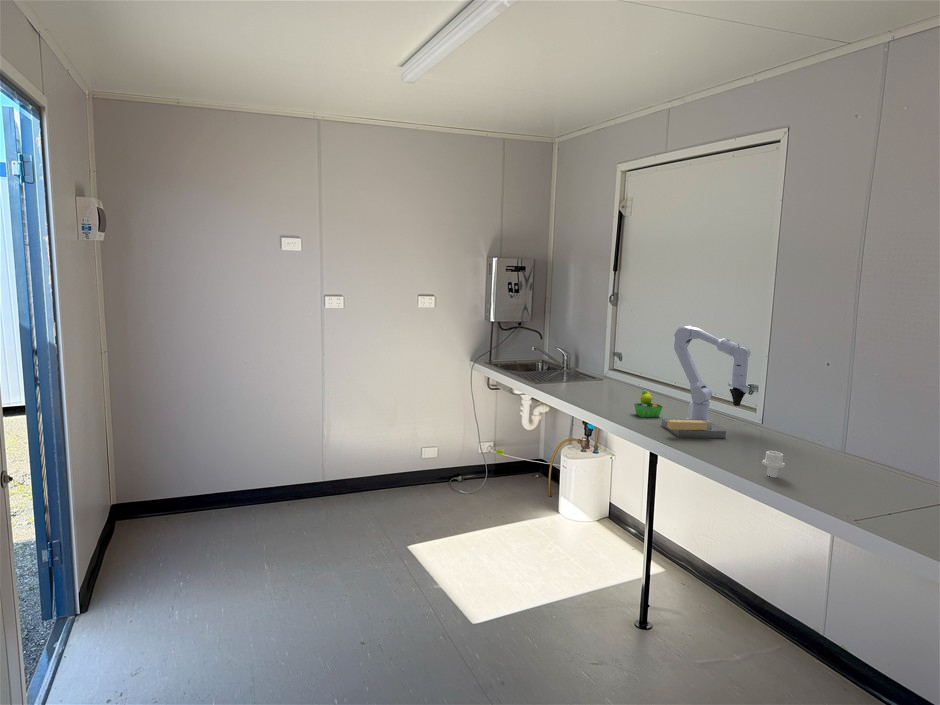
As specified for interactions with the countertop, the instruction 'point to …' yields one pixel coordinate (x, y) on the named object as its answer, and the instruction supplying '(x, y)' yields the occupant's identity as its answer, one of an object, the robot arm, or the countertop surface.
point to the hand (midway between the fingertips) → (736, 405)
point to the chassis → (696, 431)
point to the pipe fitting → (773, 462)
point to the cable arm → (690, 424)
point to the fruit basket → (647, 406)
